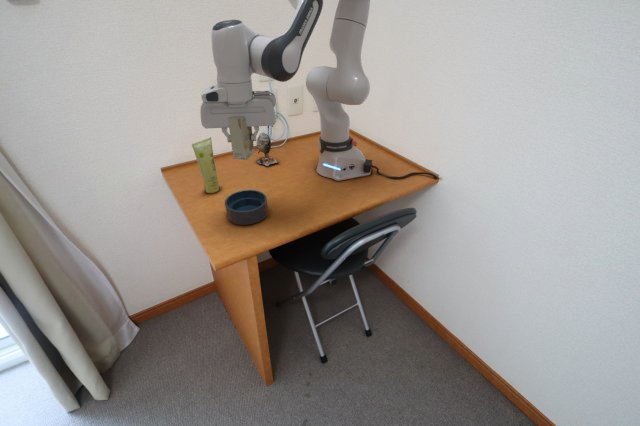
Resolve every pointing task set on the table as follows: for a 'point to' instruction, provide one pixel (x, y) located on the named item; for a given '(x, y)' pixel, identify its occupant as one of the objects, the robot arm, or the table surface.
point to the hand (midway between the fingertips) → (242, 141)
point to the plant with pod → (265, 149)
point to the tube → (206, 164)
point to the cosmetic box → (240, 138)
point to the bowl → (246, 207)
